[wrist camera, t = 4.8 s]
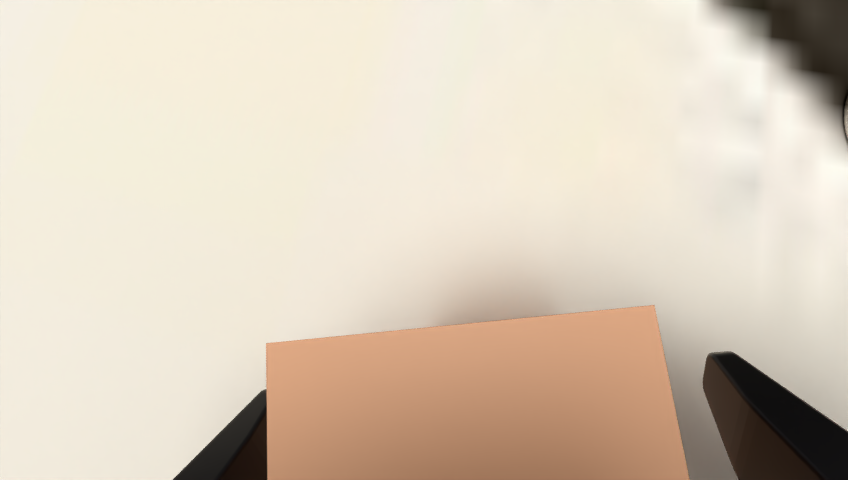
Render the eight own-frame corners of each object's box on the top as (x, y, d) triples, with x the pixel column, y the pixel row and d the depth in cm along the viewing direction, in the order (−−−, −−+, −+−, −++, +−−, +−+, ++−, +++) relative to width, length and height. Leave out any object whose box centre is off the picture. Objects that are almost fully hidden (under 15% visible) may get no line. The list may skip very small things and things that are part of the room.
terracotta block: (587, 485, 15) (762, 839, 4) (435, 490, 16) (270, 799, 5) (563, 328, 16) (654, 304, 5) (422, 341, 17) (265, 343, 6)
